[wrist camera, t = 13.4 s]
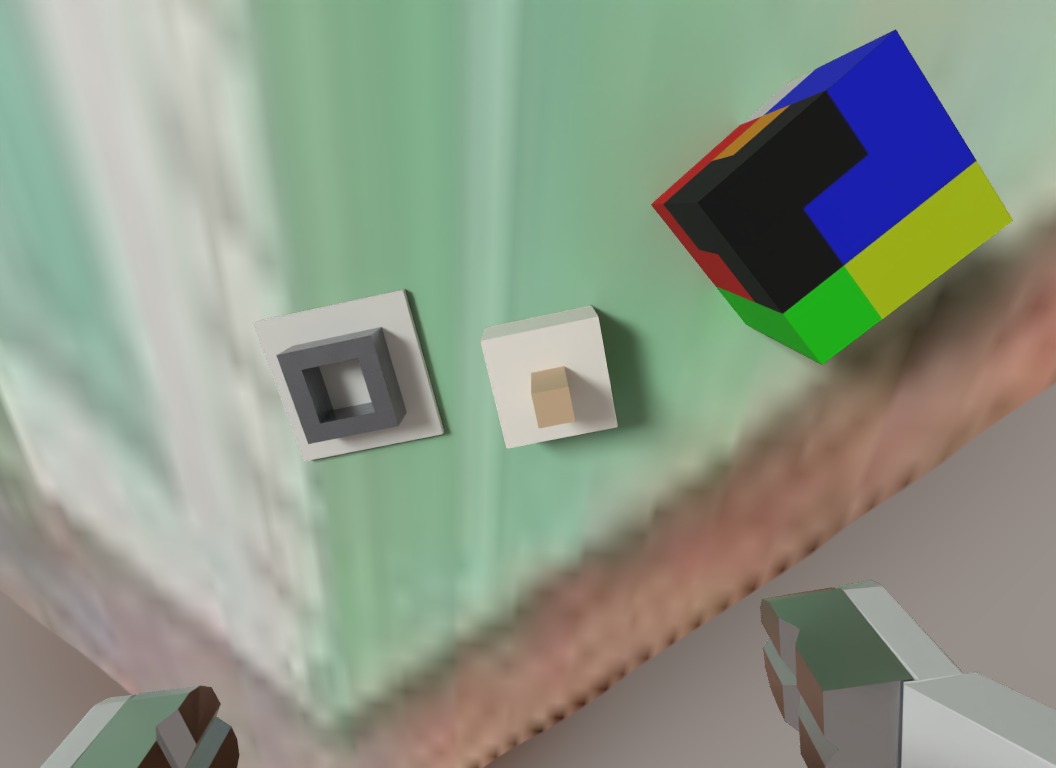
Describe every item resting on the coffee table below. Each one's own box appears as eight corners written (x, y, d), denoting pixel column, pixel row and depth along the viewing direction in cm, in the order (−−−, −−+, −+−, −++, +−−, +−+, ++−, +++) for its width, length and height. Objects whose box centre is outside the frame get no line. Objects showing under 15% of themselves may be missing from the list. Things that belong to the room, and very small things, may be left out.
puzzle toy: (787, 83, 32) (895, 29, 23) (879, 217, 34) (1013, 220, 25) (650, 204, 34) (697, 202, 25) (745, 324, 36) (822, 364, 27)
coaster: (257, 320, 36) (252, 322, 36) (404, 289, 36) (402, 290, 35) (307, 457, 39) (303, 461, 39) (444, 430, 39) (442, 434, 38)
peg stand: (485, 327, 36) (473, 358, 29) (591, 305, 36) (607, 330, 28) (508, 424, 38) (503, 478, 31) (608, 405, 38) (628, 454, 30)
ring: (292, 345, 36) (276, 355, 34) (381, 326, 36) (370, 335, 33) (322, 429, 38) (308, 444, 36) (406, 412, 37) (398, 426, 35)
